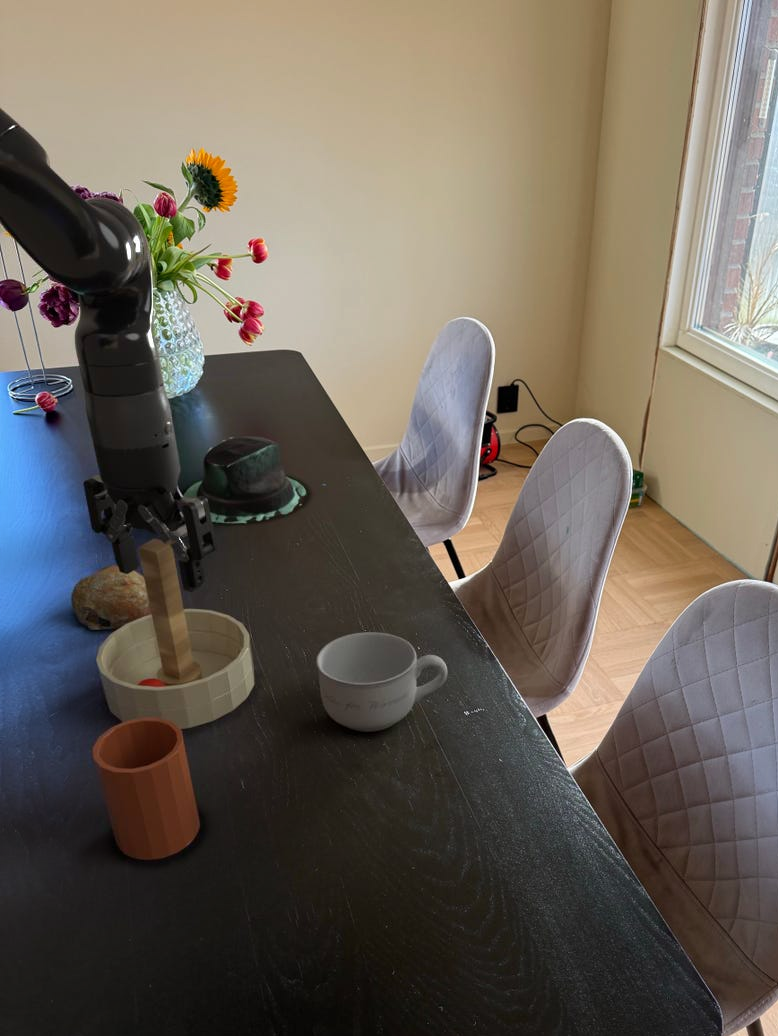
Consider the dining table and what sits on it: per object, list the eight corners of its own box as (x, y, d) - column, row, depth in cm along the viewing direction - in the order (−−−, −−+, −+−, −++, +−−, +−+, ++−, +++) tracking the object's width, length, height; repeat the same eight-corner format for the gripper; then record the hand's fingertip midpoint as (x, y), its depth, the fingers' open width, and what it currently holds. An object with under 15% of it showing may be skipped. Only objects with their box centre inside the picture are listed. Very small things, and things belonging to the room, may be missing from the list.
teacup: (308, 738, 95) (302, 678, 91) (336, 680, 104) (332, 623, 100) (436, 753, 94) (436, 692, 89) (452, 693, 103) (453, 635, 98)
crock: (99, 848, 81) (73, 756, 75) (155, 797, 87) (134, 708, 81) (164, 874, 79) (141, 782, 73) (216, 820, 84) (200, 731, 78)
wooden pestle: (150, 691, 100) (120, 549, 91) (179, 669, 104) (152, 531, 94) (184, 702, 99) (157, 559, 89) (212, 679, 102) (188, 540, 93)
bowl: (75, 709, 98) (63, 665, 95) (173, 638, 111) (165, 597, 107) (193, 751, 93) (184, 705, 90) (282, 671, 105) (277, 629, 102)
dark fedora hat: (272, 528, 135) (154, 515, 139) (318, 535, 153) (213, 524, 157) (281, 429, 134) (162, 419, 138) (327, 448, 152) (220, 439, 156)
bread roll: (75, 647, 115) (52, 613, 108) (92, 582, 120) (71, 546, 113) (153, 647, 115) (135, 614, 108) (166, 583, 120) (149, 547, 114)
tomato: (149, 720, 98) (137, 694, 99) (178, 704, 98) (166, 677, 99) (135, 712, 94) (122, 684, 96) (166, 695, 95) (153, 668, 96)
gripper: (46, 431, 84) (83, 580, 93) (165, 457, 80) (192, 611, 89) (104, 408, 90) (133, 550, 99) (218, 432, 85) (238, 578, 94)
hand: (161, 579), depth 94 cm, fingers open, 8 cm apart
